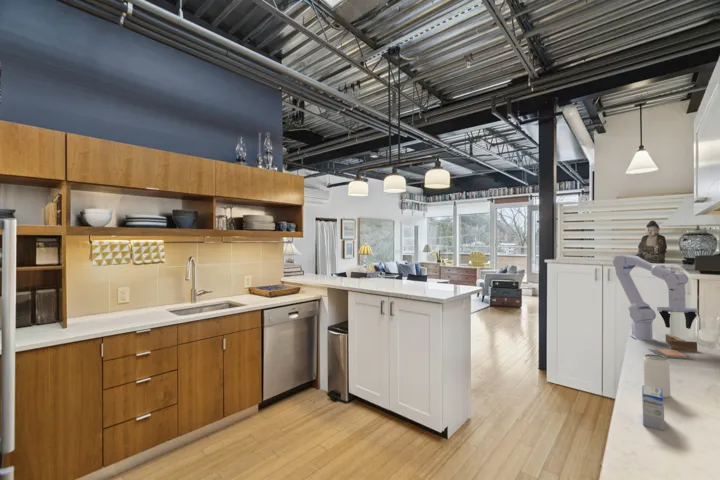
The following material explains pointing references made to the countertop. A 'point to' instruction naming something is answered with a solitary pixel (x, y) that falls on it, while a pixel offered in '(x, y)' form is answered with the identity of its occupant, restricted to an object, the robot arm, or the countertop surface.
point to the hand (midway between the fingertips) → (677, 327)
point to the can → (657, 373)
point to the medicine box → (653, 407)
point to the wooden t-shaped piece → (680, 343)
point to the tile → (671, 353)
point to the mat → (671, 358)
